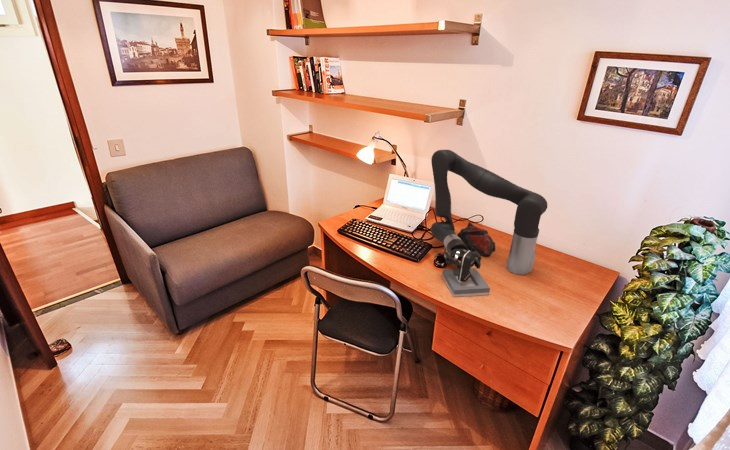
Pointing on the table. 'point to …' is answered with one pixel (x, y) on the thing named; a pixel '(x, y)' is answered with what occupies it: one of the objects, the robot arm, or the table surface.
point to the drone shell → (477, 240)
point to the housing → (465, 283)
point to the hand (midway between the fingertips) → (469, 267)
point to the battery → (466, 265)
